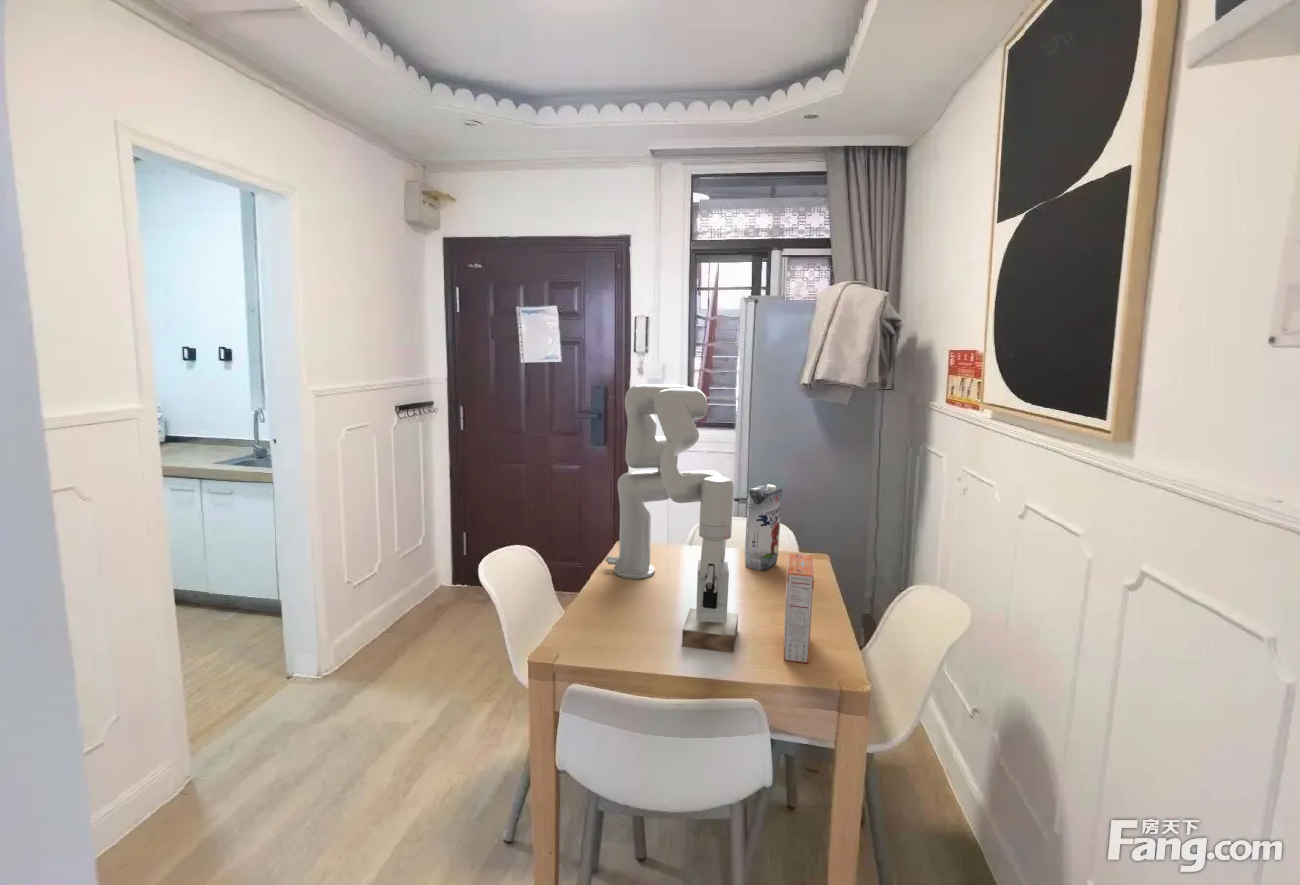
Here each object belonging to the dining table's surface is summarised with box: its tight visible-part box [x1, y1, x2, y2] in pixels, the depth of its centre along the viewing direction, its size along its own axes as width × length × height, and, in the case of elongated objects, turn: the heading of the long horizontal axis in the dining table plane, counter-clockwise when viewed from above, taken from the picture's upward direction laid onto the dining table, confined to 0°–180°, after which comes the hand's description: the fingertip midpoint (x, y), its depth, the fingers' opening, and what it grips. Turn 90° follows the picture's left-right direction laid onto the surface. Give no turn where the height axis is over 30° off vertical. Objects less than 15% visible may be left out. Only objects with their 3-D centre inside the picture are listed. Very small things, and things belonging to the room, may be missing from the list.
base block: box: [681, 608, 739, 654], centre depth 150 cm, size 12×12×4 cm
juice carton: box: [744, 484, 783, 572], centre depth 200 cm, size 9×10×27 cm
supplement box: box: [695, 559, 730, 623], centre depth 149 cm, size 7×7×13 cm
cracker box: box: [783, 553, 815, 664], centre depth 145 cm, size 14×6×21 cm, turn 167°
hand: (711, 600), depth 149 cm, fingers closed on supplement box, 7 cm apart
